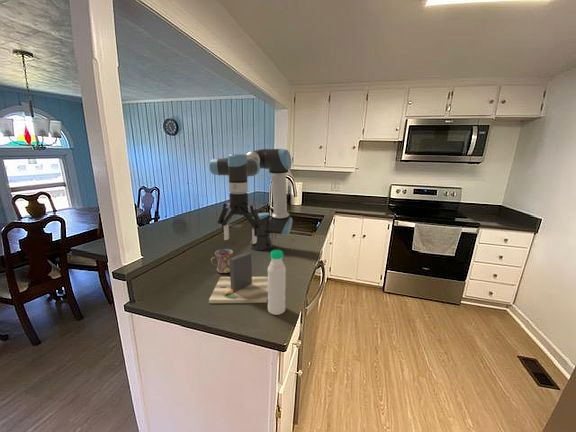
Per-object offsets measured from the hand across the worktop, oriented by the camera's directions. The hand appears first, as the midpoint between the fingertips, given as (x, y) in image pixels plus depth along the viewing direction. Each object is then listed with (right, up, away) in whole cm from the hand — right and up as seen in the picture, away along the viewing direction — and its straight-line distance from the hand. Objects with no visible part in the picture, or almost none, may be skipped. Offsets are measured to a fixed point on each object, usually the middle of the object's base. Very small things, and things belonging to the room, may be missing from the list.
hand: (240, 241), depth 104 cm
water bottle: (+16, -27, -9) cm, 32 cm away
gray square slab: (-2, -22, +3) cm, 22 cm away
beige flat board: (0, -23, +5) cm, 24 cm away
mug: (-14, -19, +23) cm, 33 cm away
